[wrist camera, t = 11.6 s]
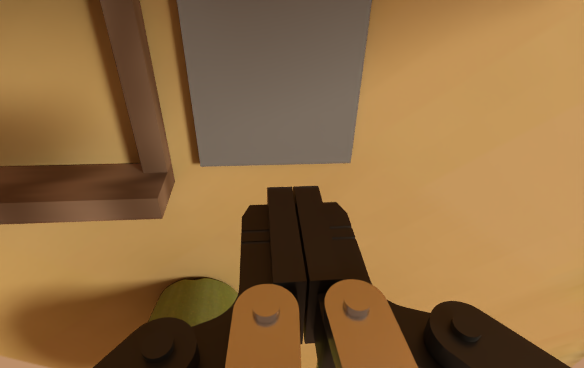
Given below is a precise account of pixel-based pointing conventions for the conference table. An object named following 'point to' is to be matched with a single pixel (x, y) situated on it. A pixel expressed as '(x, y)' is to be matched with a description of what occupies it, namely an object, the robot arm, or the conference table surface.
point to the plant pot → (194, 300)
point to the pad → (274, 78)
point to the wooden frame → (104, 177)
